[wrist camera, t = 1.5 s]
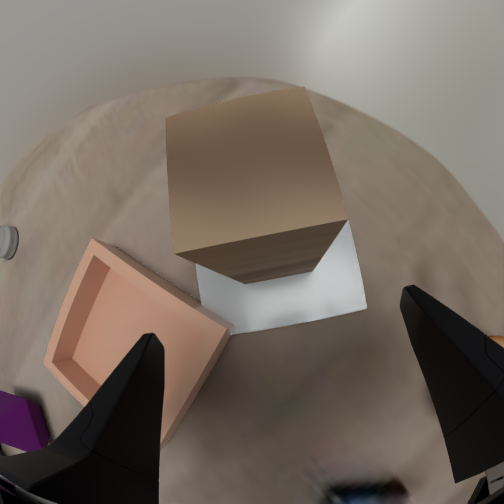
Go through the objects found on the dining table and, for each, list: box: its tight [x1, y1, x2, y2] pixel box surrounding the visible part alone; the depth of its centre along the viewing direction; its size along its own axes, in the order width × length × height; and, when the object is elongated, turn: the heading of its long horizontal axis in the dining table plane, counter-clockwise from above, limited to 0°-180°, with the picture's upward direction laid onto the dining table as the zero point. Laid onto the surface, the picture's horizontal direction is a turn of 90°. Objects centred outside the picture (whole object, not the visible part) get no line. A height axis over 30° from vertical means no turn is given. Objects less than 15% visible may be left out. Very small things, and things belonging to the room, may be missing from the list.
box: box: [43, 238, 235, 450], centre depth 20 cm, size 13×13×4 cm
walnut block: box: [166, 87, 348, 284], centre depth 15 cm, size 5×5×13 cm
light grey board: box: [196, 220, 367, 335], centre depth 21 cm, size 12×12×1 cm
